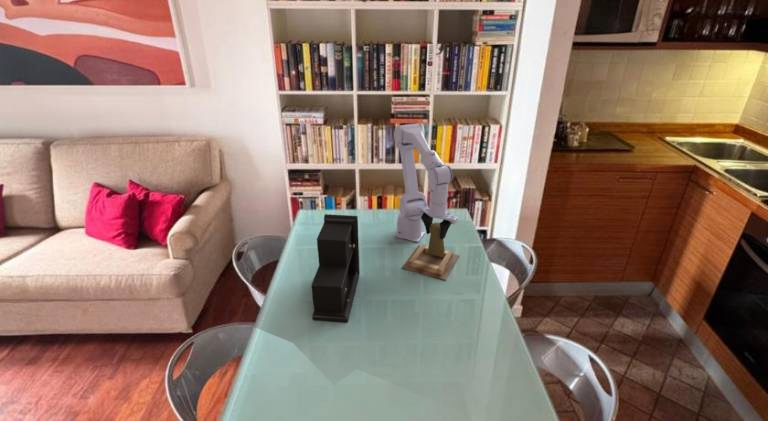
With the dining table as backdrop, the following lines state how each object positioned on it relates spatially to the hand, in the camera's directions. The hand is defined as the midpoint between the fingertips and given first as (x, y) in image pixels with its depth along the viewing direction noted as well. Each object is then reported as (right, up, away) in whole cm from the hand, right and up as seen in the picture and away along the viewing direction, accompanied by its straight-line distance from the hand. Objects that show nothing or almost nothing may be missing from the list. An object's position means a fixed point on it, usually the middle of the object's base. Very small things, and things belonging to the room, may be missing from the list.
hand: (435, 235), depth 143 cm
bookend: (-33, -19, -13) cm, 40 cm away
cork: (+1, -6, +4) cm, 7 cm away
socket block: (-1, -10, +4) cm, 11 cm away
